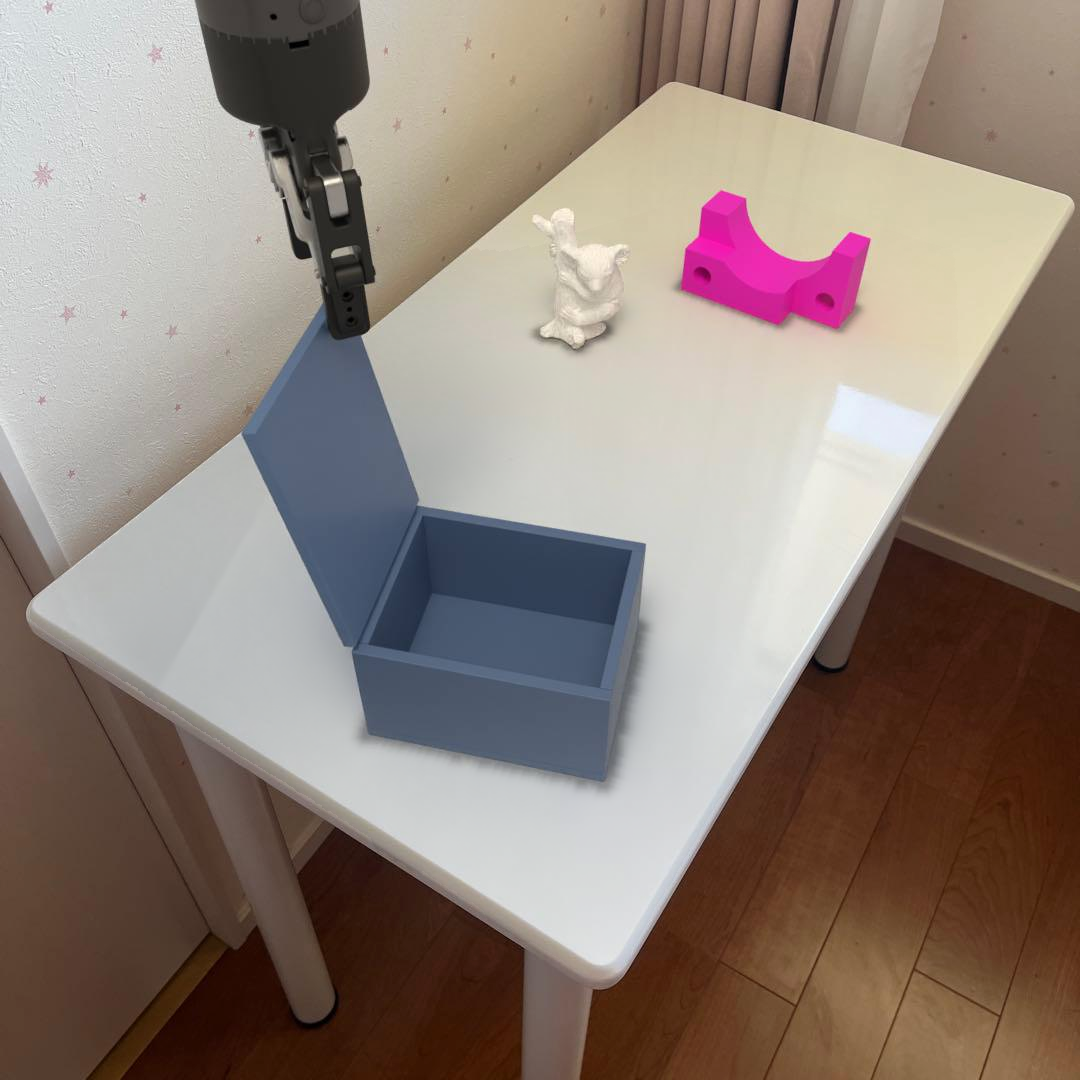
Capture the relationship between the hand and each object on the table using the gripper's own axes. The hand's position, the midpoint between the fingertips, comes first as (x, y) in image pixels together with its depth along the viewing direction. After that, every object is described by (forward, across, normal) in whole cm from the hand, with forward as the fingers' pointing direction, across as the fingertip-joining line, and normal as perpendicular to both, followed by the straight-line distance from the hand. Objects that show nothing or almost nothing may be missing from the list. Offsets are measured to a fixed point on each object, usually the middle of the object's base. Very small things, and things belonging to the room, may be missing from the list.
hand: (330, 292), depth 63 cm
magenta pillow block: (+25, -20, +44) cm, 54 cm away
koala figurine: (+25, -22, +25) cm, 41 cm away
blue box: (+25, +12, +5) cm, 28 cm away
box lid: (+7, +7, -2) cm, 10 cm away
